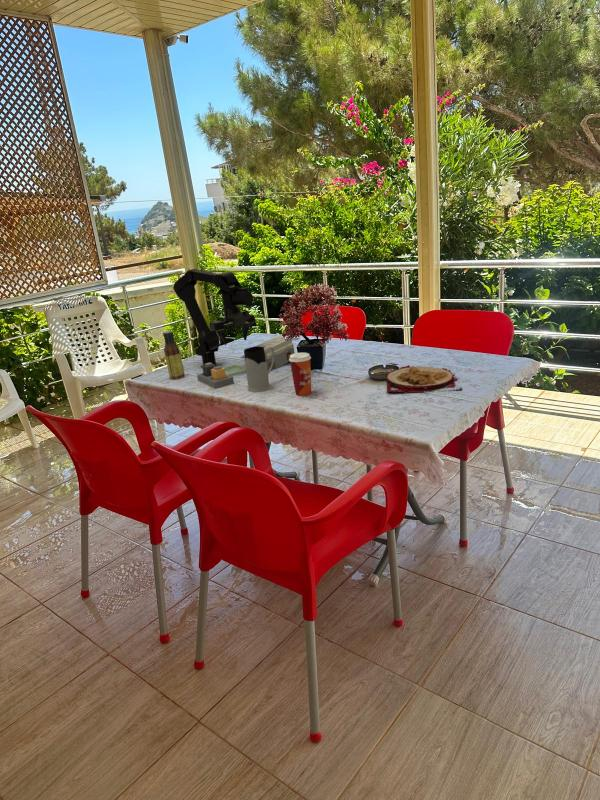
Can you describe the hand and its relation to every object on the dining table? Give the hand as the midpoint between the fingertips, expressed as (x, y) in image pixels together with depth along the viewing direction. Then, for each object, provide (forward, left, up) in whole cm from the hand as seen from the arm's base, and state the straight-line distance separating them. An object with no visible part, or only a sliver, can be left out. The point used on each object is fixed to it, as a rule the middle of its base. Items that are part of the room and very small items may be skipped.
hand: (235, 342), depth 228 cm
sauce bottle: (-12, -23, -12) cm, 29 cm away
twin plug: (+4, -15, -12) cm, 19 cm away
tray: (+1, -4, -12) cm, 13 cm away
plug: (+12, -15, -12) cm, 22 cm away
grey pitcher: (+27, -4, -12) cm, 30 cm away
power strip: (+8, -15, -12) cm, 21 cm away
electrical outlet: (+6, +13, -12) cm, 19 cm away
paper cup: (+46, +1, -12) cm, 48 cm away
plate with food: (+68, +37, -13) cm, 79 cm away
